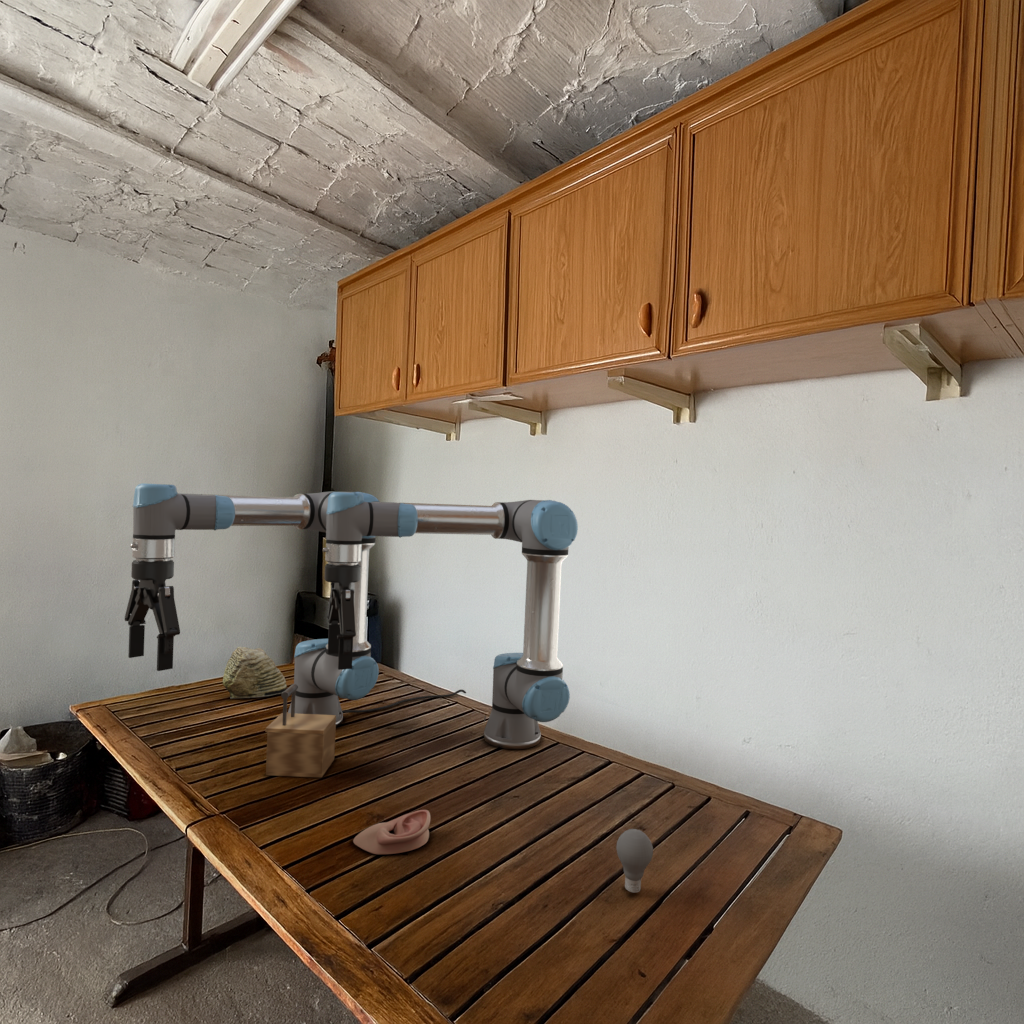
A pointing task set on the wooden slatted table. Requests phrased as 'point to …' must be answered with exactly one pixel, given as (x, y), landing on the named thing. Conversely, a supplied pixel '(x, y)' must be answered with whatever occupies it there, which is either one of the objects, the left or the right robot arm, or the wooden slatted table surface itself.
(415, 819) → the anatomical model
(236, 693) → the fossil
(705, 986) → the wooden slatted table surface
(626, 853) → the light bulb
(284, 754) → the chest
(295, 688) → the lid
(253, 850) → the wooden slatted table surface
